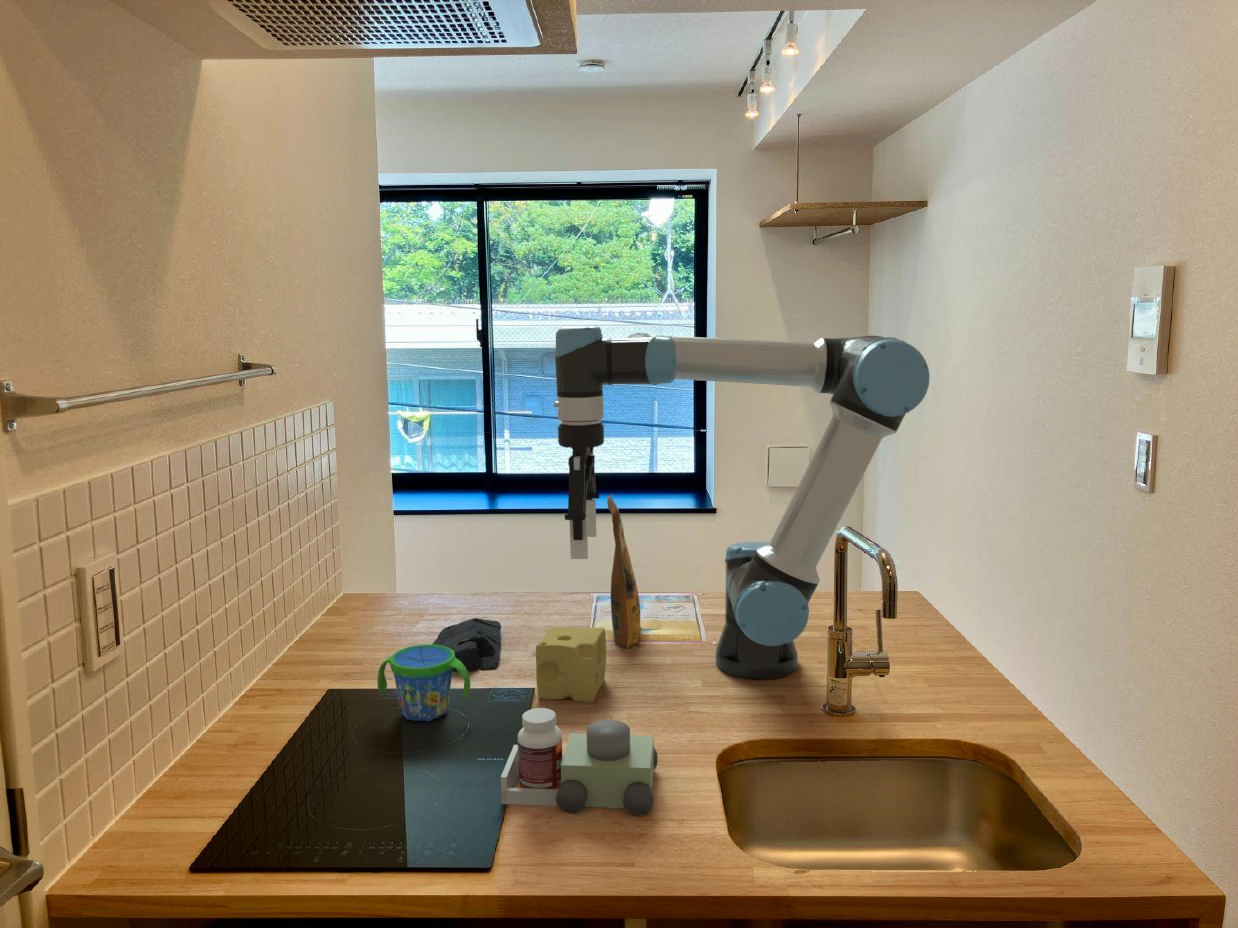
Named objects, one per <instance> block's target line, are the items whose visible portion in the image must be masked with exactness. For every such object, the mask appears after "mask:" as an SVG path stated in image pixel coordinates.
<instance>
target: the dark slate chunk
mask: <svg viewBox="0 0 1238 928" xmlns="http://www.w3.org/2000/svg"><path fill="white" fill-rule="evenodd" d="M501 630H502V626H501V622H499V621H498V620H491V619H483V618H479V617H475V618H470V619H466V620H464V621H462V622H459V623H455V624H452V625H449V626H447V627H443V629H442V630H440V632H439V634H438V635H437V638H436V639H434V641H433V643H432V644H431V645H441V646H445V647H448V648H450V649H452V650H453V651H454V653H455V658H457V659H458V660H460V661H461V662H462V663H463V665H464V666H465V667H466V669H467V672H474V671H479V669H480V671H481V670H482V671H483V670H487V669H496V668H497V667H498V666H499V661H500V660H501V659H500V657H501V656H500V655H501V645H502V643H501V642H502V637H501V633H502V632H501ZM486 668H487V669H486ZM454 672H455V673H458V671H457V669H456V668H454V669H453V673H454Z"/></svg>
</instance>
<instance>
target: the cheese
mask: <svg viewBox="0 0 1238 928" xmlns="http://www.w3.org/2000/svg"><path fill="white" fill-rule="evenodd" d="M605 629H606V628H604V627H601V626H600V627H599V626H598V627H571V626H570V627H569V626H568V627H567V626H555V625H554V626H553V625H552V626H550V627H549V628H548V629H547V631H546V632H545V634H544V636H543V637H542V638H541V640H540V641H539V642H538V643H537V644H536V645H535V666H536V667H535V668H536V670H535V671H536V673H535V675H536V678H535V679H536V689H537V697H538V699H540V700H541V699H545V700H564V699H567V698H571V699H572V701H574V702H582V703H589V704H591V703H592V704H593V703H594V702H595V701H596V696H597V695H598V692H599V690H600V689H601V687H602V685H603V683H604V681H605V678H606V677H605V676H606V667H607V641H606V632H605V631H606V630H605Z"/></svg>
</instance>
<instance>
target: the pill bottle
mask: <svg viewBox="0 0 1238 928" xmlns="http://www.w3.org/2000/svg"><path fill="white" fill-rule="evenodd" d="M521 718H522V719H521V724H522V728H521V729H520V730H519V732H518V733H517V745H518V761H519V776H518V784H519V785H518V786H519V787H518V788H531V789H559V786H560V785H561V763H562V759H563V737H562V731H561V729H560V728H559V727H558V726H557V714H556V712H555V711H554V710H553V709H550V708H545V707H538V708H537V707H536V708H532V709H528V710H526V711H525V712H524V713H523V714H522V717H521Z"/></svg>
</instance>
